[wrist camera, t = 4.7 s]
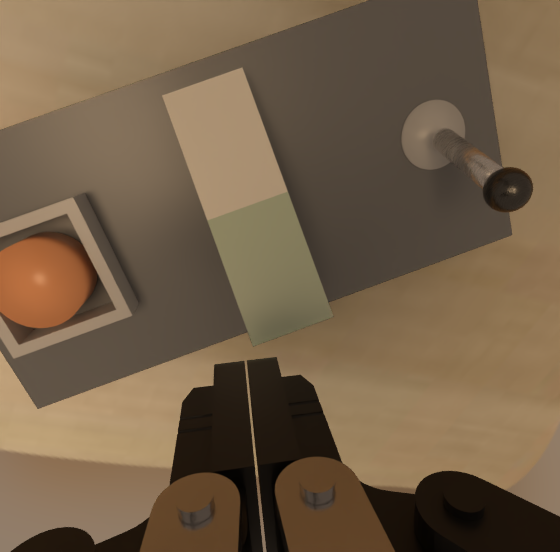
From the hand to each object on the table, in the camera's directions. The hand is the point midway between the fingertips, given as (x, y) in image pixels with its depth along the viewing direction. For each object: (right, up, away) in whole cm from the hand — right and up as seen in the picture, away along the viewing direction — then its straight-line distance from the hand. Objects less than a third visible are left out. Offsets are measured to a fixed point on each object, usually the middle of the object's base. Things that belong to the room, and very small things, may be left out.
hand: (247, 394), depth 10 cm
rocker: (0, +6, +7) cm, 9 cm away
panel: (-2, +7, +11) cm, 13 cm away
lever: (+8, +9, +8) cm, 15 cm away
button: (-9, +3, +8) cm, 13 cm away
